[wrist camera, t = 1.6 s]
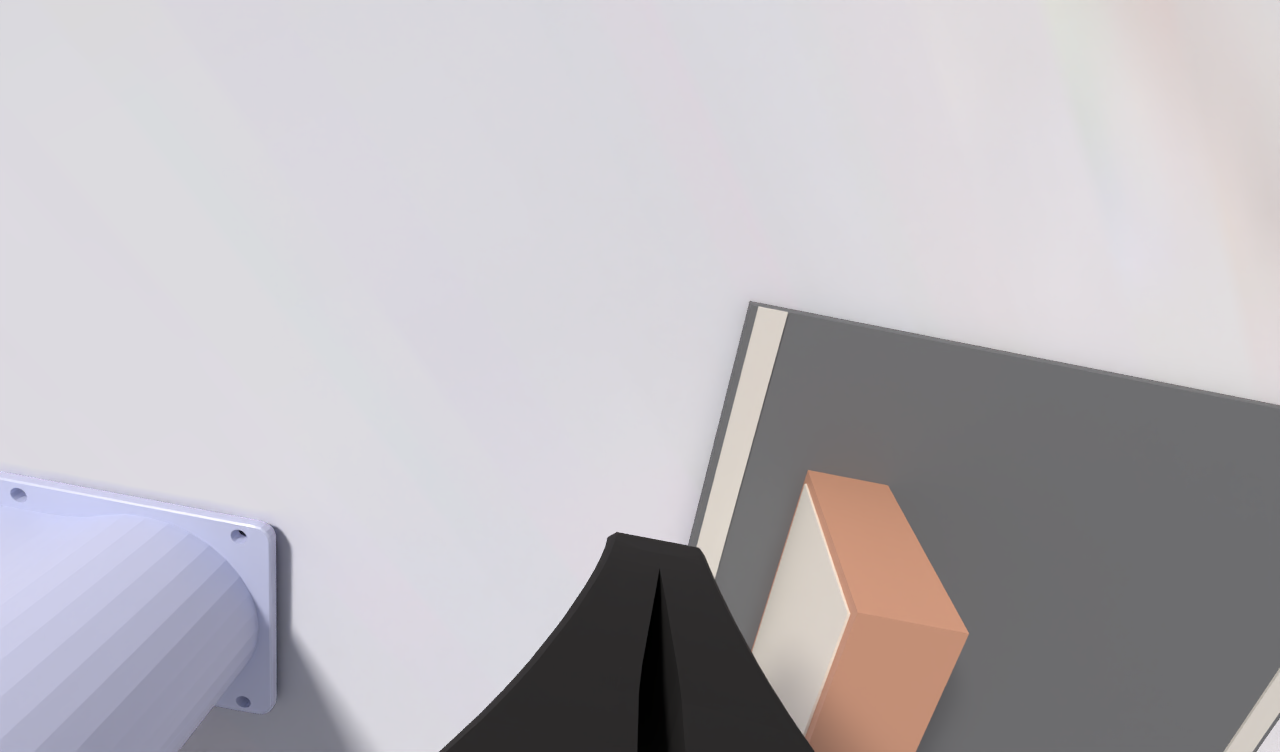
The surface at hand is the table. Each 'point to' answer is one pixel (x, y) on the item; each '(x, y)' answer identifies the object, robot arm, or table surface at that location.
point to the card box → (857, 622)
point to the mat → (1026, 527)
